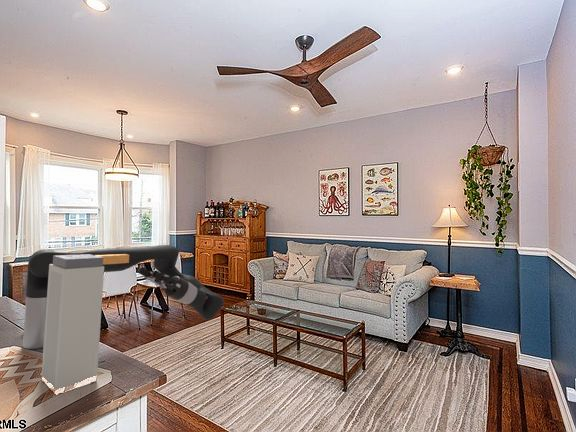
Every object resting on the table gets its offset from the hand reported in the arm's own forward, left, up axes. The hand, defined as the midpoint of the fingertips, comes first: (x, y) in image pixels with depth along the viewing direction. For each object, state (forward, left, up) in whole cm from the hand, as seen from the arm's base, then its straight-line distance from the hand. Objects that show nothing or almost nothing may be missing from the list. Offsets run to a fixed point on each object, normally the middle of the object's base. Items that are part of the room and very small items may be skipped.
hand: (146, 271), depth 103 cm
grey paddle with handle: (0, -15, +3) cm, 16 cm away
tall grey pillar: (0, -20, -29) cm, 35 cm away
